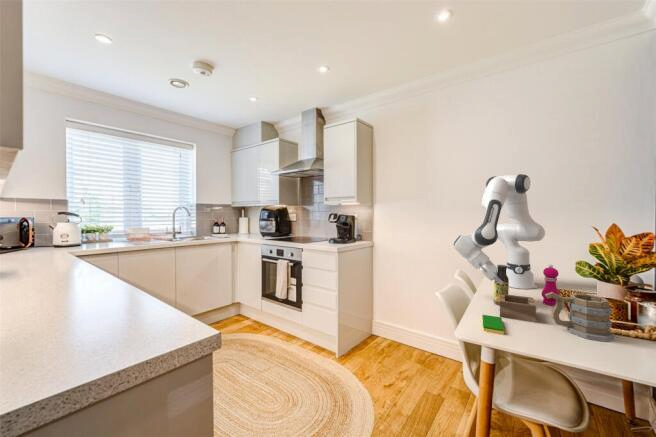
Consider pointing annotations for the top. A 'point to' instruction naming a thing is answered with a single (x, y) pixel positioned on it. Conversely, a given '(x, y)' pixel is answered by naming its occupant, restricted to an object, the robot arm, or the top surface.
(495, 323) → the dish sponge
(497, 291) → the sauce bottle
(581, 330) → the tankard
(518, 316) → the socket
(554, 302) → the pepper mill
